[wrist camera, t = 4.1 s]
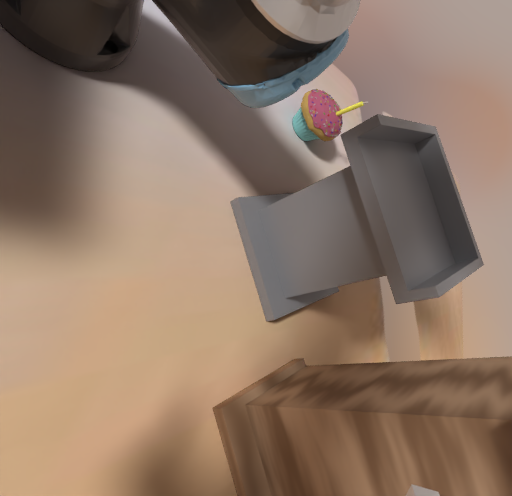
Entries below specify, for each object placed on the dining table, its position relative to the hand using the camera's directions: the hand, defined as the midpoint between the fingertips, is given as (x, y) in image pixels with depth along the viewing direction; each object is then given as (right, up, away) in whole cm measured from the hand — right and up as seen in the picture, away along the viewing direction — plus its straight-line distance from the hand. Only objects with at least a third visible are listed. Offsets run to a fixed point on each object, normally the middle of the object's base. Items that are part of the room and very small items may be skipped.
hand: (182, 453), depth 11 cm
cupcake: (+10, +27, +53) cm, 60 cm away
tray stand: (+6, +6, +42) cm, 43 cm away
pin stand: (+4, -15, +33) cm, 36 cm away
